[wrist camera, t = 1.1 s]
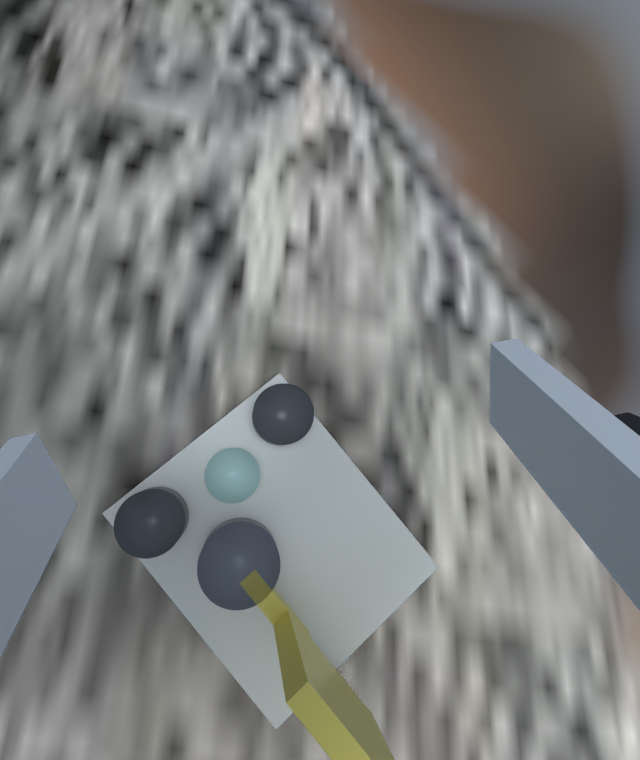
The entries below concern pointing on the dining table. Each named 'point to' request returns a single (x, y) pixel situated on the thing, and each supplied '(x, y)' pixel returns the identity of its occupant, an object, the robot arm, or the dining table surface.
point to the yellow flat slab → (288, 640)
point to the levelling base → (274, 536)
